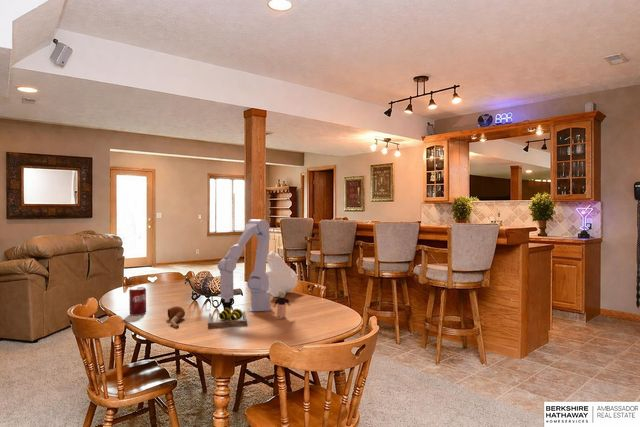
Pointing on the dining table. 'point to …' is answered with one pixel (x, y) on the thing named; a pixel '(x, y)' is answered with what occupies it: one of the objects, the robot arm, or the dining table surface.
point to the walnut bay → (227, 322)
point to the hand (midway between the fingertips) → (227, 314)
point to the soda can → (137, 301)
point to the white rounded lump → (280, 275)
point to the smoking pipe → (175, 315)
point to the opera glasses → (231, 314)
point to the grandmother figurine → (281, 305)
